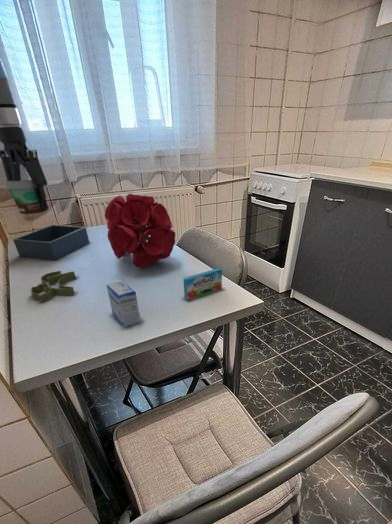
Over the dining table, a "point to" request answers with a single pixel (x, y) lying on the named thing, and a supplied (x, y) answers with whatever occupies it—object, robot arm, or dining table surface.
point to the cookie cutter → (52, 279)
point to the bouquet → (139, 229)
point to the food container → (25, 196)
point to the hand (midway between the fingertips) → (35, 208)
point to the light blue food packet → (202, 284)
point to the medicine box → (123, 303)
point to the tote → (51, 242)
